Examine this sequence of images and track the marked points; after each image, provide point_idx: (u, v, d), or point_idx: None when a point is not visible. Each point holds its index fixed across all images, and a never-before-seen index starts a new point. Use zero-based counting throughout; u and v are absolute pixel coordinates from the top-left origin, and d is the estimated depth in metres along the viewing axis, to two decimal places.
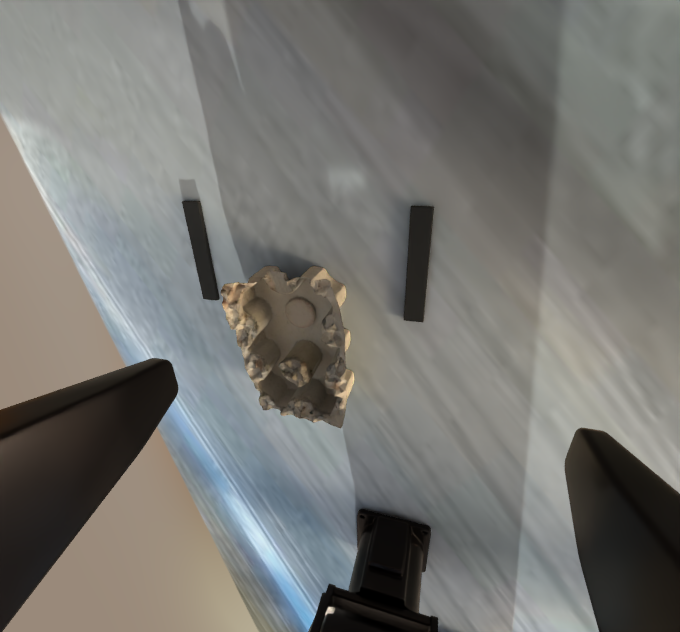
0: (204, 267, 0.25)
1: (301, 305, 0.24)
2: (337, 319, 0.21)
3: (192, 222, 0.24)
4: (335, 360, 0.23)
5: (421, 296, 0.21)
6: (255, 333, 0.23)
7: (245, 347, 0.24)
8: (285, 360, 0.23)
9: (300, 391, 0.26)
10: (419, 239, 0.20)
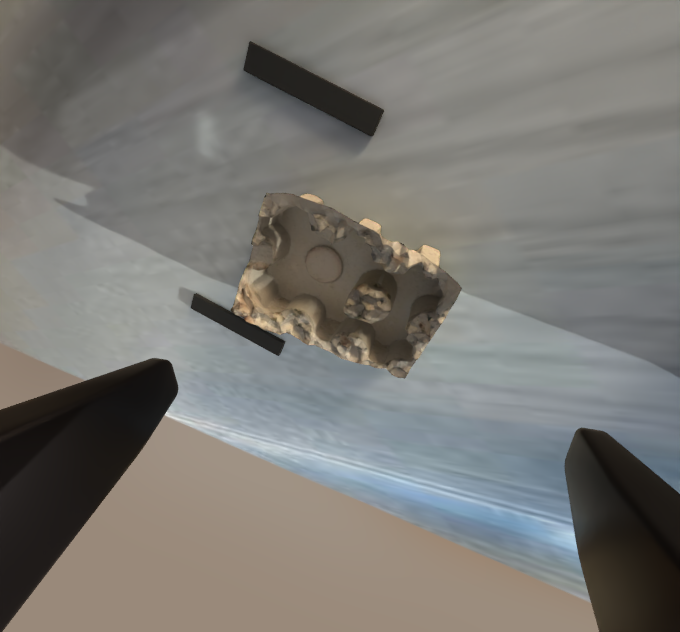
0: (249, 331, 0.24)
1: (314, 256, 0.20)
2: (306, 205, 0.16)
3: (209, 312, 0.24)
4: None
5: (347, 97, 0.16)
6: (303, 317, 0.19)
7: (313, 338, 0.20)
8: None
9: (408, 320, 0.19)
10: (279, 73, 0.17)
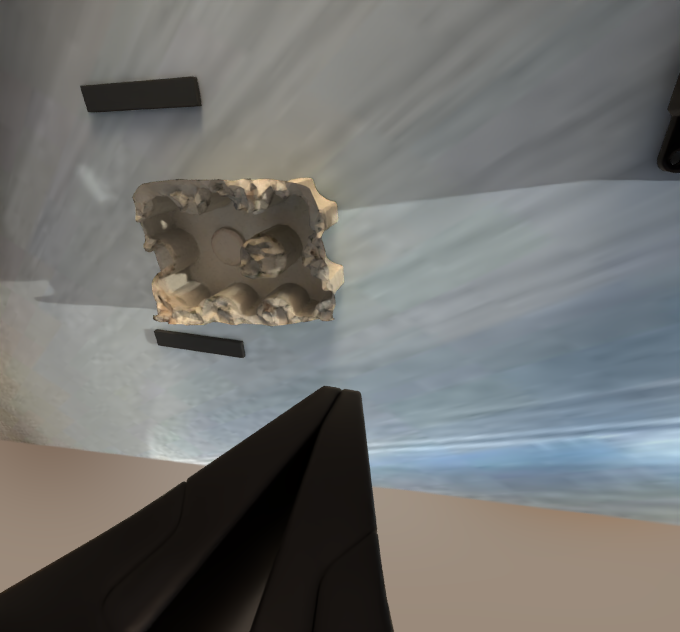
0: (209, 345, 0.24)
1: (216, 243, 0.20)
2: (158, 188, 0.17)
3: (172, 342, 0.25)
4: None
5: (163, 84, 0.17)
6: (219, 299, 0.19)
7: (235, 316, 0.19)
8: None
9: None
10: (110, 97, 0.18)
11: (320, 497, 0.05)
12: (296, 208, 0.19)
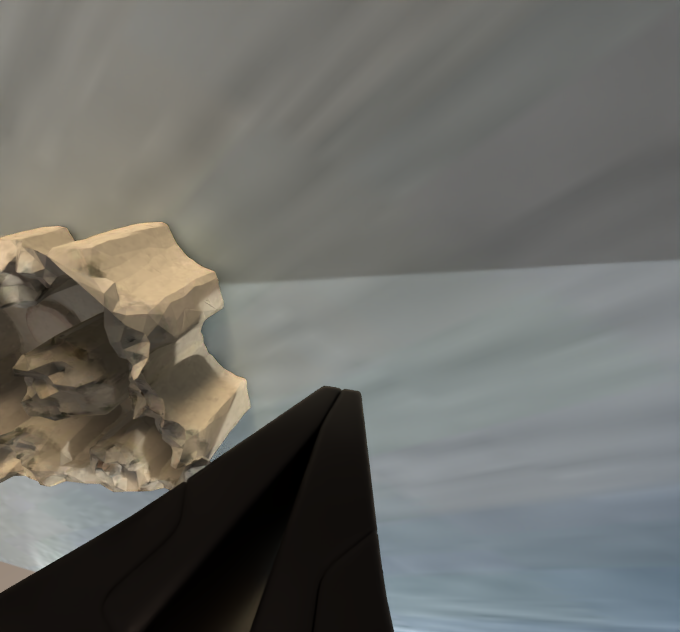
0: None
1: (34, 326, 0.12)
2: None
3: None
4: None
5: None
6: (18, 441, 0.10)
7: (45, 473, 0.10)
8: None
9: (169, 382, 0.09)
10: None
11: (320, 497, 0.05)
12: None
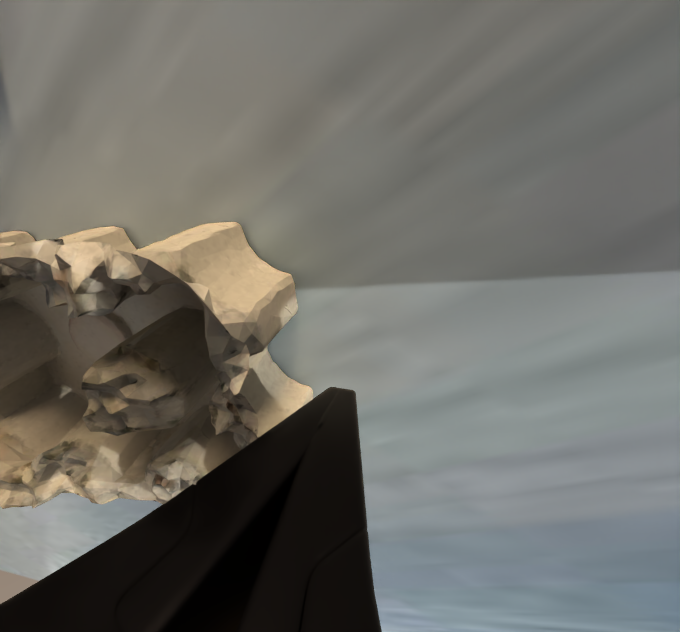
0: None
1: (78, 333, 0.11)
2: None
3: None
4: None
5: None
6: (68, 456, 0.10)
7: (99, 491, 0.10)
8: None
9: (241, 392, 0.08)
10: None
11: (312, 495, 0.05)
12: None
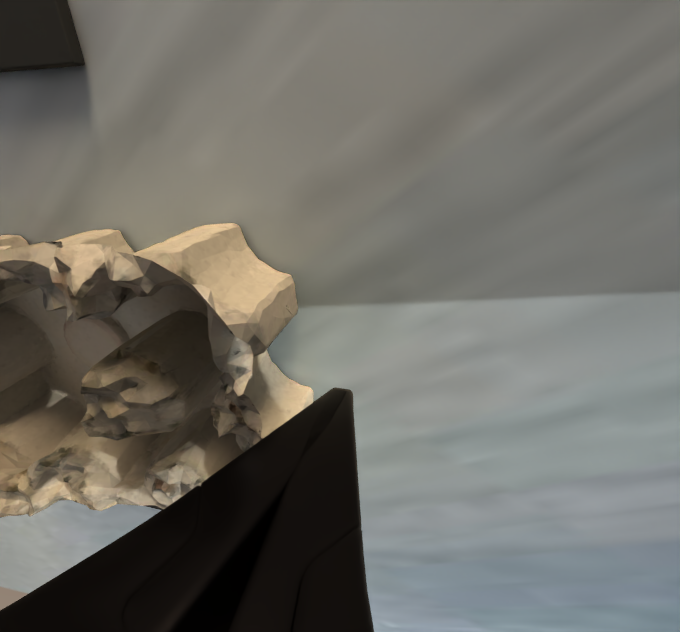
0: None
1: (73, 338, 0.11)
2: None
3: None
4: None
5: None
6: (65, 462, 0.10)
7: (97, 497, 0.09)
8: None
9: None
10: None
11: (306, 493, 0.05)
12: None
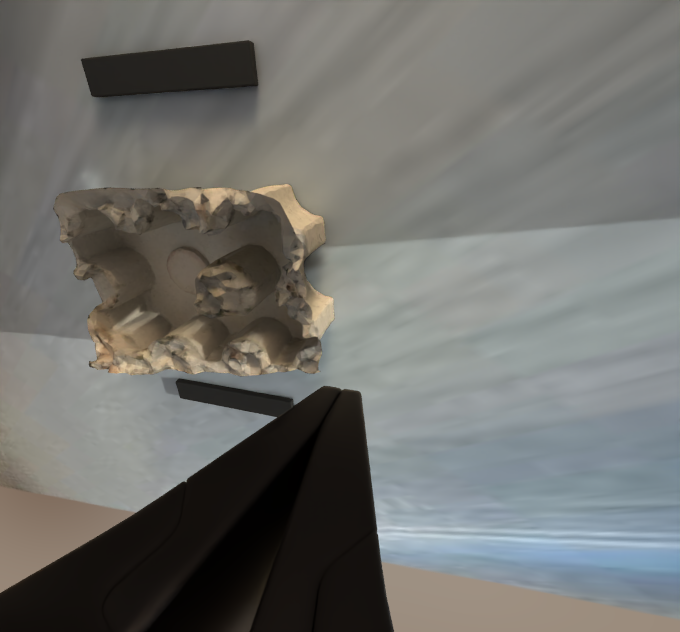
0: (248, 402, 0.19)
1: (173, 266, 0.16)
2: (81, 199, 0.12)
3: (198, 395, 0.20)
4: None
5: (202, 53, 0.12)
6: (173, 341, 0.15)
7: (193, 363, 0.15)
8: None
9: None
10: (123, 74, 0.13)
11: (320, 497, 0.05)
12: (271, 223, 0.14)
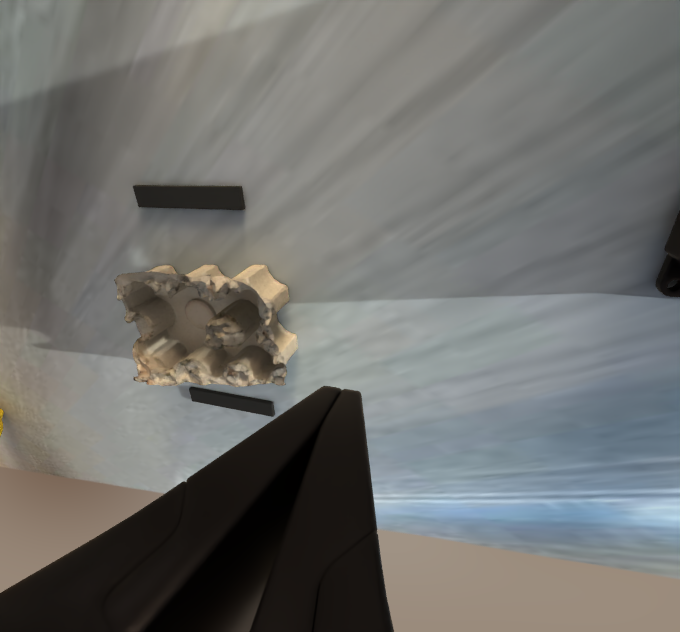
0: (241, 403, 0.26)
1: (189, 311, 0.24)
2: (134, 277, 0.20)
3: (205, 399, 0.27)
4: None
5: (210, 190, 0.19)
6: (190, 363, 0.22)
7: (204, 378, 0.22)
8: None
9: None
10: (160, 197, 0.20)
11: (320, 497, 0.05)
12: None
